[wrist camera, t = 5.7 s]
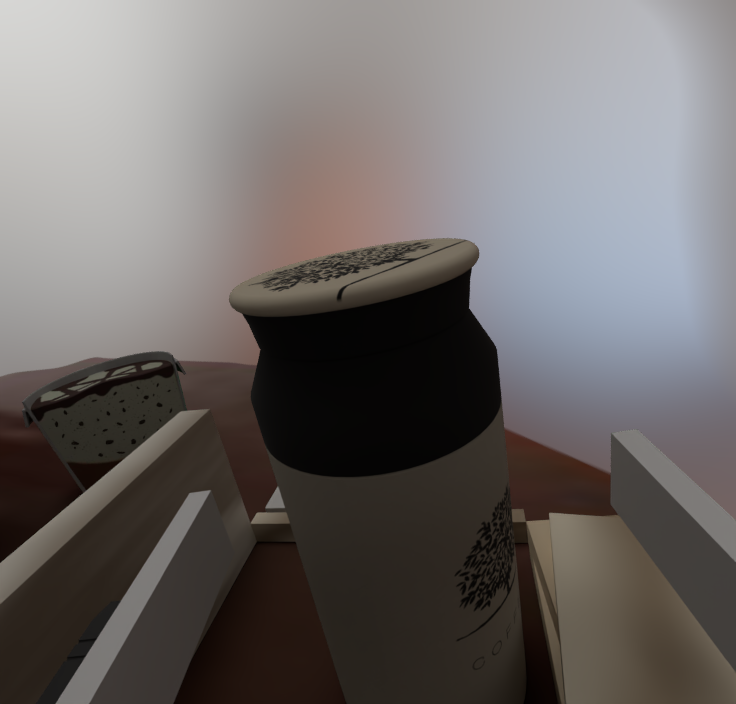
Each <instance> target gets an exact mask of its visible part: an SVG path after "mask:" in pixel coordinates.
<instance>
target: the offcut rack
mask: <svg viewBox="0 0 736 704" xmlns="http://www.w3.org/2000/svg"><path fill="white" fill-rule="evenodd" d="M208 490H211V491H212V494H213V497H214V499H215V502H216V504H217V507H218V510H219V512H220V515H221V518H222V520H223V523H224V526H225V528H226V531H227V533H228V536H229V539H230V541H231V544H232V547H233V549H234V552H235V553H234V555H233V558H232V560H231V563H230V565H229V568H228V570H227V573H226V575H225V577H224V580H223V582H222V585H221V587H220V590H219V592H218V595H217V597H216V600H215V602H214V605H213V607H212V609H211V612H210V614H209V617H208V619H207V622H206V624H205V627H204V629H203V632H202V634H201V637H200V639H199V641H198V644H197V646H196V649H195V651H194V654H195V652H196V650H197V649H198V647H199V645H200V643H201V641H202V640H203V638H204V636H205V634H206V632H207V630H208V629H209V627H210V625H211V623H212V621H213V620H214V618H215V616H216V614H217V612H218V611H219V609H220V607H221V605H222V603H223V602H224V600H225V598H226V596H227V594H228V593H229V591H230V589H231V587H232V585H233V584H234V582H235V580H236V578H237V576H238V575H239V573H240V571H241V569H242V567H243V566H244V564H245V562H246V560H247V558H248V557H249V555H250V553H251V551H252V549H253V547H254V546H255V544H256V542H296V541H295V538H294V535H293V532H292V529H291V525H290V522H289V519H288V516H287V513H286V512H278V513H257V514H256V515H255V517H254V519H253V520H252V522H251V524H250V521H249V518H248V515H247V512H246V510H245V507H244V504H243V501H242V498H241V495H240V493H239V490H238V487H237V484H236V481H235V478H234V476H233V473H232V470H231V467H230V464H229V461H228V459H227V456H226V453H225V450H224V447H223V444H222V442H221V439H220V436H219V433H218V430H217V427H216V425H215V422H214V419H213V416H212V413H211V411H210V409H205V410H193V411H181V412H180V413H178V414H177V415H176V416H175V417H174V418H172V419H171V420H170V421H169V422H168V423H166V424H165V425H164V426H163V427H162V428H160V429H159V430H158V431H157V432H156V433H155V434H153V435H152V436H151V437H150V438H149V439H147V440H146V441H145V442H144V443H143V444H141V445H140V446H139V447H138V448H137V449H136V450H134V451H133V452H132V453H131V454H130V455H128V456H127V457H126V458H125V459H124V460H122V461H121V462H120V463H119V464H118V465H116V466H115V467H114V468H113V469H112V470H111V471H109V472H108V473H107V474H106V475H105V476H103V477H102V478H101V479H100V480H99V481H97V482H96V483H95V484H94V485H93V486H91V487H90V488H89V489H88V490H87V491H86V492H84V493H83V494H82V495H81V496H80V497H78V498H77V499H76V500H75V501H74V502H72V503H71V504H70V505H69V506H68V507H66V508H65V509H64V510H63V511H62V512H61V513H59V514H58V515H57V516H56V517H55V518H53V519H52V520H51V521H50V522H49V523H47V524H46V525H45V526H44V527H43V528H41V529H40V530H39V531H38V532H37V533H36V534H34V535H33V536H32V537H31V538H30V539H28V540H27V541H26V542H25V543H24V544H22V545H21V546H20V547H19V548H18V549H17V550H15V551H14V552H13V553H12V554H11V555H9V556H8V557H7V558H6V559H5V560H3V561H2V562H1V563H0V704H36V702H37V701H38V699H39V698H40V696H41V695H42V694H43V692H44V691H45V689H46V688H47V686H48V685H49V683H50V682H51V680H52V679H53V677H54V676H55V674H56V673H57V671H58V670H59V668H60V667H61V665H62V664H63V662H65V661H67V657H68V655H69V654H70V652H71V651H72V649H73V648H74V646H75V645H76V644H78V643H79V639H80V637H81V636H82V634H83V633H84V631H85V630H86V628H87V627H88V625H89V624H90V623H91V621H92V620H93V619H94V618H95V617H96V616H97V615H98V614H99V613H100V612H101V611H102V610H103V609H104V608H105V607H106V606H107V605H108V604H109V603H110V602H112V601H120V600H122V599H123V597H124V596H125V594H126V592H127V591H128V589H129V588H130V586H131V585H132V583H133V581H134V580H135V578H136V577H137V575H138V574H139V572H140V570H141V569H142V567H143V566H144V564H145V563H146V561H147V559H148V558H149V556H150V555H151V553H152V552H153V550H154V548H155V547H156V545H157V544H158V542H159V541H160V539H161V537H162V536H163V534H164V533H165V531H166V530H167V528H168V526H169V525H170V523H171V522H172V520H173V519H174V517H175V515H176V514H177V512H178V511H179V509H180V508H181V506H182V504H183V503H184V501H185V500H186V498H187V497H188V495H189V493H194V492H201V491H208ZM549 518H550V520H540V521H525V516H524V511H523V509H512V520H513V531H514V542H515V543H527V536H528V544H529V550H530V560H531V565H532V570H533V575H534V581H535V586H536V591H537V596H538V602H539V607H540V612H541V617H542V623H543V628H544V633H545V638H546V644H547V649H548V654H549V660H550V665H551V670H552V675H553V681H554V686H555V691H556V696H557V702H558V704H736V672H735V671H734V670H733V668H732V667H731V665H730V664H729V663H728V661H727V660H726V659H725V657H724V656H723V655H722V653H721V652H720V651H719V649H718V648H717V647H716V645H715V644H714V643H713V641H712V640H711V639H710V637H709V636H708V634H707V633H706V632H705V630H704V629H703V628H702V626H701V625H700V624H699V622H698V621H697V620H696V618H695V617H694V616H693V614H692V613H691V612H690V610H689V609H688V608H687V606H686V605H685V604H684V602H683V601H682V599H681V598H680V597H679V595H678V594H677V593H676V591H675V590H674V589H673V587H672V586H671V585H670V583H669V582H668V581H667V579H666V578H665V577H664V575H663V574H662V573H661V571H660V570H659V568H658V567H657V566H656V564H655V563H654V562H653V560H652V559H651V558H650V556H649V555H648V554H647V552H646V551H645V550H644V548H643V547H642V546H641V544H640V543H639V542H638V540H637V539H636V537H635V536H634V535H633V533H632V532H631V531H630V529H629V528H628V527H627V525H626V524H625V523H624V521H623V520H622V519H621V517H620V516H619V515H614V516H587V515H572V514H558V513H549ZM526 523H527V532H526ZM194 654H193V656H194ZM193 656H192V658H193Z"/></svg>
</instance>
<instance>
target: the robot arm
mask: <svg viewBox="0 0 736 704" xmlns="http://www.w3.org/2000/svg"><path fill="white" fill-rule="evenodd" d="M611 505H612V507H613V508H614V509H615V511H616V512H617V513H618V515H619V516H620V517H621V519H622V520H623V521H624V523H625V524H626V525H627V527H628V528H629V529H630V531H631V532H632V533H633V535H634V536H635V537H636V539H637V540H638V542H639V543H640V544H641V546H642V547H643V548H644V550H645V551H646V552H647V554H648V555H649V556H650V558H651V559H652V560H653V562H654V563H655V564H656V566H657V567H658V568H659V570H660V571H661V573H662V574H663V575H664V577H665V578H666V579H667V581H668V582H669V583H670V585H671V586H672V587H673V589H674V590H675V591H676V593H677V594H678V595H679V597H680V598H681V599H682V601H683V602H684V604H685V605H686V606H687V608H688V609H689V610H690V612H691V613H692V614H693V616H694V617H695V618H696V620H697V621H698V622H699V624H700V625H701V626H702V628H703V629H704V630H705V632H706V633H707V634H708V636H709V637H710V639H711V640H712V641H713V643H714V644H715V645H716V647H717V648H718V649H719V651H720V652H721V653H722V655H723V656H724V657H725V659H726V660H727V661H728V663H729V664H730V665H731V667H732V668H733V670H734V671H735V672H736V520H735V519H734V518H733V517H732V516H731V515H729V514H728V513H727V512H726V511H725V510H724V509H723V508H722V507H721V506H720V505H719V504H717V503H716V502H715V501H714V500H713V499H712V498H711V497H710V496H709V495H708V494H707V493H706V492H704V491H703V490H702V489H701V488H700V487H699V486H698V485H697V484H696V483H695V482H694V481H693V480H691V479H690V478H689V477H688V476H687V475H686V474H685V473H684V472H683V471H682V470H680V469H679V468H678V467H677V466H676V465H675V464H674V463H673V462H672V461H671V460H670V459H669V458H667V457H666V456H665V455H664V454H663V453H662V452H661V451H660V450H659V449H658V448H657V447H655V446H654V445H653V444H652V443H651V442H650V441H649V440H648V439H647V438H646V437H645V436H644V435H642V434H641V433H640V432H639V431H638V430H637V429H635V430H629V431H621V432H615V433H611ZM234 553H235V552H234V549H233V547H232V544H231V541H230V539H229V536H228V533H227V531H226V528H225V526H224V523H223V520H222V518H221V515H220V512H219V510H218V507H217V504H216V502H215V499H214V497H213V494H212V491H211V490H208V491H201V492H194V493H189V495H188V497H187V498H186V500H185V501H184V503H183V504H182V506H181V508H180V509H179V511H178V512H177V514H176V515H175V517H174V519H173V520H172V522H171V523H170V525H169V526H168V528H167V530H166V531H165V533H164V534H163V536H162V537H161V539H160V541H159V542H158V544H157V545H156V547H155V548H154V550H153V552H152V553H151V555H150V556H149V558H148V559H147V561H146V563H145V564H144V566H143V567H142V569H141V570H140V572H139V574H138V575H137V577H136V578H135V580H134V581H133V583H132V585H131V586H130V588H129V589H128V591H127V592H126V594H125V596H124V597H123V599H122V600H120V601H112V602H110V603H109V604H108V605H107V606H106V607H105V608H104V609H103V610H102V611H101V612H100V613H99V614H98V615H97V616H96V617H95V618H94V619H93V620H92V621H91V623H90V624H89V625H88V627H87V628H86V630H85V631H84V633H83V634H82V636H81V637H80V639H79V643H78V644H76V645H75V646H74V648H73V649H72V651H71V652H70V654H69V655H68V657H67V661H65V662H63V664H62V665H61V667H60V668H59V670H58V671H57V673H56V674H55V676H54V677H53V679H52V680H51V682H50V683H49V685H48V686H47V688H46V689H45V691H44V692H43V694H42V695H41V696H40V698H39V699H38V701H37V702H36V704H173V703H174V701H175V698H176V696H177V693H178V691H179V688H180V686H181V683H182V681H183V678H184V676H185V673H186V671H187V669H188V666H189V664H190V661H191V659H192V656H193V654H194V651H195V649H196V646H197V644H198V641H199V639H200V637H201V634H202V632H203V629H204V627H205V624H206V622H207V619H208V617H209V614H210V612H211V609H212V607H213V605H214V602H215V600H216V597H217V595H218V592H219V590H220V587H221V585H222V582H223V580H224V577H225V575H226V573H227V570H228V568H229V565H230V563H231V560H232V558H233V555H234Z"/></svg>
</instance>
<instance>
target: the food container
mask: <svg viewBox="0 0 736 704" xmlns="http://www.w3.org/2000/svg"><path fill="white" fill-rule="evenodd" d="M177 371H180V372H182V373H183V374H184V375H185V374H186V373H185V371H184V370H183V368H182V366H181V365H180V363H179V362H178V360H177V359H175V358H174V357H173V355H172V354H171V353H168V352H161V351H160V352H159V351H157V352H146V353H139V354H134V355H129V356H125V357H120V358H116V359H113V360H109V361H105V362H102V363H99V364H96V365H93V366H90V367H87V368H84V369H81V370H79V371H76V372H74V373H71V374H69V375H66V376H64V377H62V378H59V379H57V380H55V381H53V382H51V383H49V384H47V385H45V386H43V387H41V388H40V389H38V390H36V391H35V392H33V393H32V394H30V395H29V396H28V397H27V398H26V399H25V400H24V401H23V402H22V403H23V405H24V407H25V408H24V409H23V410H22V412H23V417H24V421H25V425H26V427H29V426H30V424H31V423H32V422H33V421H34V422H35V424H36V425H37V427H38V428H39V429H40V431H41V432H42V434H43V435H44V437H45V438H46V440H47V441H48V442H49V444H50V445H51V447H52V448H53V450H54V451H55V453H56V454H57V456H58V457H59V458H60V460H61V461H62V463H63V464H64V466H65V467H66V469H67V470H68V471H69V473H70V474H71V476H72V477H73V479H74V480H75V482H76V483H77V484H78V486H79V487H80V489H81V490H82V492H83V493H84V492H86V491H87V490H88V489H89V488H90V487H91V486H93V485H94V484H95V483H96V482H97V481H99V480H100V479H101V478H102V477H103V476H105V475H106V474H107V473H108V472H109V471H111V470H112V469H113V468H114V467H115V466H116V465H118V464H119V463H120V462H121V461H122V460H124V459H125V458H126V457H127V456H128V455H130V454H131V453H132V452H133V451H134V450H136V449H137V448H138V447H139V446H140V445H141V444H143V443H144V442H145V441H146V440H147V439H149V438H150V437H151V436H152V435H153V434H155V433H156V432H157V431H158V430H159V429H160V428H162V427H163V426H164V425H165V424H166V423H168V422H169V421H170V420H171V419H172V418H174V417H175V416H176V415H177V414H178V413H180V412H181V411H187V409H186V405H185V401H184V397H183V392H182V388H181V384H180V380H179V376H178V372H177Z"/></svg>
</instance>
